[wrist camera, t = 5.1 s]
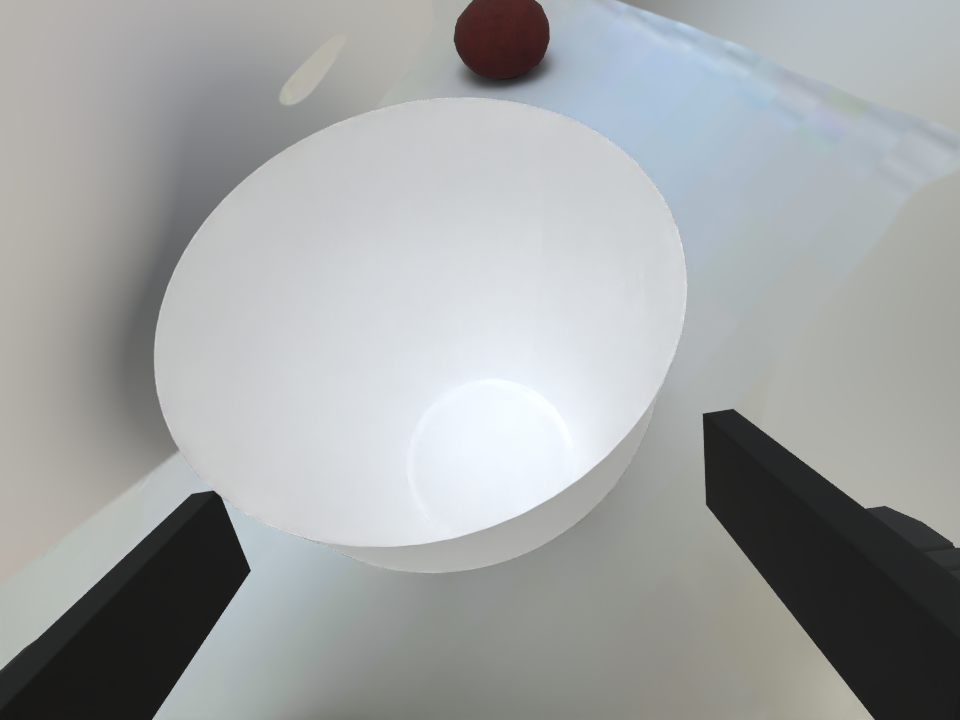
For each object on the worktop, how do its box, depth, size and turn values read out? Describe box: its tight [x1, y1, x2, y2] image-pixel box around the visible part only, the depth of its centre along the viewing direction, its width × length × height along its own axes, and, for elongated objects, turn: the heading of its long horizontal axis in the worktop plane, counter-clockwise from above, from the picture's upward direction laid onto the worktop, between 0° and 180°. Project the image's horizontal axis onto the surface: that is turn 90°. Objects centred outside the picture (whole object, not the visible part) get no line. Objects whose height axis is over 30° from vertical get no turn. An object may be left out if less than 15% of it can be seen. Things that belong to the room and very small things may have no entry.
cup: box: [154, 97, 687, 573], centre depth 18 cm, size 13×13×17 cm
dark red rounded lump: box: [454, 0, 550, 79], centre depth 40 cm, size 7×8×6 cm
